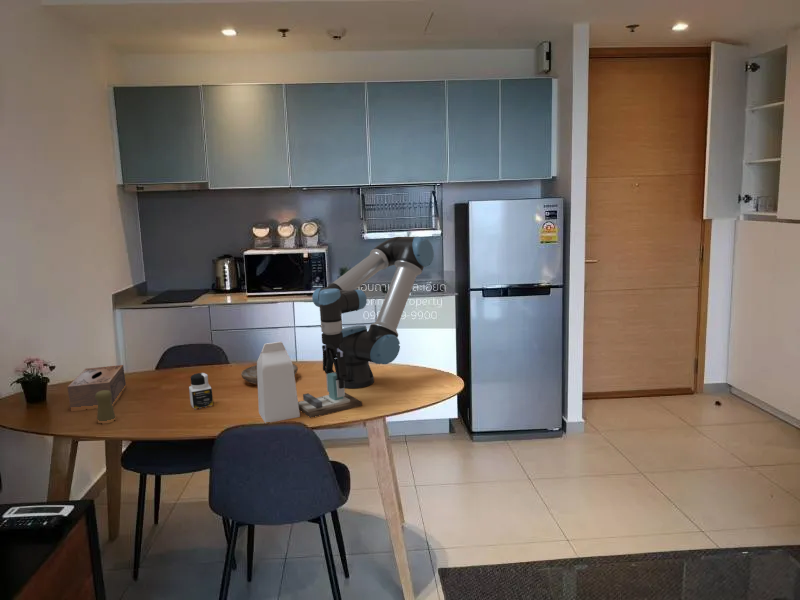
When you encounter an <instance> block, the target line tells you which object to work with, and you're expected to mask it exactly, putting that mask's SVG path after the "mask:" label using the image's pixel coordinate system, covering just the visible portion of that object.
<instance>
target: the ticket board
mask: <svg viewBox="0 0 800 600" xmlns="http://www.w3.org/2000/svg"><path fill="white" fill-rule="evenodd" d="M302 397H303V398H302V399H303V400H300V401H298V406H299V412H301V411H302V412H301V413H302V414H304V413H305V414H304V415H306V416H307V417H308V416H309V417H308V418H310V419H312V418H311V417H314V418H316V417H315V416H318V417H320V416H319V415H322V416H325V415H324V414H326V415H328V413H330V414H333V413H332V412H334V413H337V411H338V412H342V411H345V410H349V409H353V408H357V407H362V406H363V402H362V401H361V400H360V399H358V398H356V397H354V396H352V395H350V394H349V393H347V392H345V396H344V397H346V398H348V399H350V402H349V403H345V404H341V405H337V406H334V403H332V402H331V401H329V400H327V399H326V398H324V397H323V396H318V397H315V396H314V395H312V394H310V393H303V394H302Z"/></svg>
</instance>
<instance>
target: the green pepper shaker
mask: <svg viewBox="0 0 800 600" xmlns="http://www.w3.org/2000/svg"><path fill="white" fill-rule="evenodd" d="M111 397H112V394H111V392H110V391H109V390H102V391H99V392H97V393H96V395H95V398H96V400H97V401H98V409H97V417H96V419H98V420H99V421H107V420H111V419H114V418H115V417H116V414H115V411H114V406H112V403H111Z"/></svg>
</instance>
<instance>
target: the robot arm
mask: <svg viewBox="0 0 800 600" xmlns="http://www.w3.org/2000/svg"><path fill="white" fill-rule="evenodd" d="M434 252H435V251H434V247H433V244H432V243H431V241H430V240H429V239H428V238H426V237H423V236H422V237H421V236H395V237H391V238H389V239H387V240H385V241H383V242H381V243H380V244H378V245H377V246H376V247H374V248H372V249H371V250H370V252H369V255H368V256H366V257H365V258H364V259H362V260H361V261H360V262H358V263H357V264H356V265H354V266H353V267H352V268H350V269H348V271H346V272H345V273H344V274H342V275H341V276H340V277H338V278H337V279H336V280H334V281H333V282H332V283H330V284H329V285H327V286H326V287H317V288H316V289H315V290H314V291H313V293H312V302H313V304H314V305H315V306H316V307H318V308H319V316H320V326H319V327H320V328H321V329H320V331H321V332H322V333H321V343H322V345H321V348H322V371H323V372H324V373H325V374H326V375H325V377H326V391H327V392H328V393H329V386H328V373H333V372H336V375H337V379H336V386H337V397H343V396H345V393H346V392H345V389H361V388H365V387H368V386H371V385H373V384H374V382H375V376H374V374H373V372H372V368H371V366H370V363H373V364H376V365H388V364H390V363H392V362H394V361H395V359H396V358H397V357H398V355H399V353H400V350H401V348H400V347H401V346H400V344H401V343H400V340H399V338H398V337H399V333H398V329H397V328H398V326H399V323H400V322H401V321H400V320H401V318H402V315H403V313H404V311H405V307H406V305H407V302H408V299H409V297H410V294H411V292H412V288H413V286H414V283H415V281H416V278H417V276H419V275H421V274H422V273H423V271H424V268H426V267H429V266H431V264H432V263H433V260H434V254H435V253H434ZM391 266H395V268H396V269H395V271H394V273H393V277H392V279H391V282H390V284H389V287H388V289H387V293H386V294H385V297H384V300H383V303H382V305H381V307H380V310H379V312H378V315H377V318H376V320H375V322H374V323H370V326H369V328H367V326H366V325H353V326H347V327H344V328H343V320H342V319H343V318H342V315H343V314H346V313H351V312H352V313H353V312H355V311H356V312H357V311H360V310H363V309H364V308H365V307H366V306H367V302H368V301H367V298H368V297H367V294H366V293H365V292H364V291H363V290H362V289H358V288H359V287H361V286H362V285H363V284H364V283H366V282H367V281H368V280H369V279H370V278H372V277H373V276H375V275H376V274H377V273H378V272H379V271H382V270H386V269H387V268H389V267H391ZM333 368H334V369H333Z"/></svg>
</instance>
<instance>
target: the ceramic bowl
mask: <svg viewBox="0 0 800 600" xmlns="http://www.w3.org/2000/svg"><path fill="white" fill-rule="evenodd" d="M292 364H293V368H294V376H295V375H296V374H297V372H298V370H299V367H298V365H297V364H295V363H292ZM240 375H241V377H242V379H244V380H245V382H248V383H250V384H254V385H258V381H257V364H256V365H252V366H249V367H247V368H244V369H242V371H241V373H240Z"/></svg>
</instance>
